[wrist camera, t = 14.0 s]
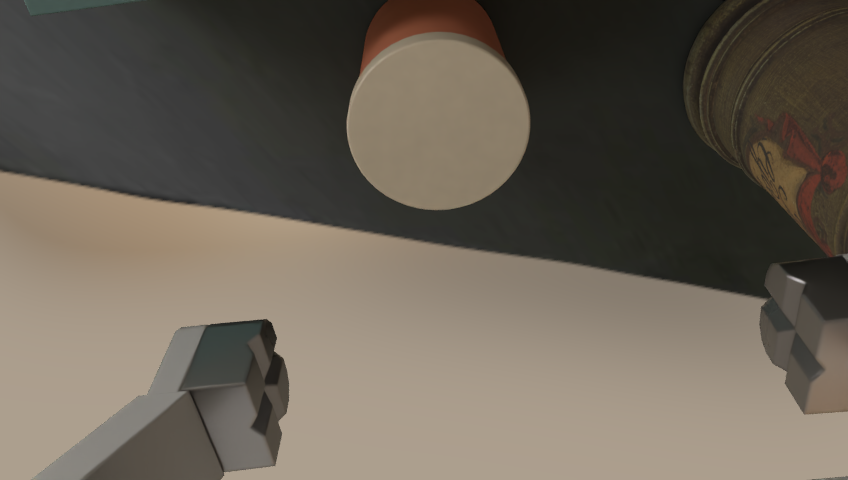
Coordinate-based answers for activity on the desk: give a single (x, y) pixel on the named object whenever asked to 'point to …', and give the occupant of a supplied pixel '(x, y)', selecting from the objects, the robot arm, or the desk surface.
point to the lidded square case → (67, 5)
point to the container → (779, 104)
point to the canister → (436, 105)
